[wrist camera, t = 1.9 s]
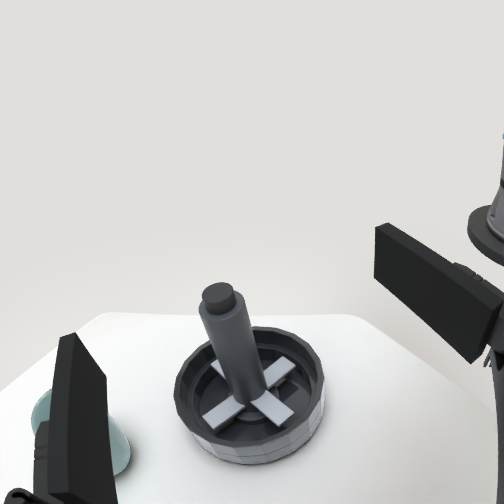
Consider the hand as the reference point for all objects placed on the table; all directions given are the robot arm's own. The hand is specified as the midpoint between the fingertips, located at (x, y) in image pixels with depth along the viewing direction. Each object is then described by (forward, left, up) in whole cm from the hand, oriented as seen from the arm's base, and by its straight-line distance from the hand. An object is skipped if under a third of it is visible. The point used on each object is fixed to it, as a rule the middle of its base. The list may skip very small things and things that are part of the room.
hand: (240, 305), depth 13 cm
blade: (0, -10, -22) cm, 24 cm away
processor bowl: (0, -10, -23) cm, 25 cm away
